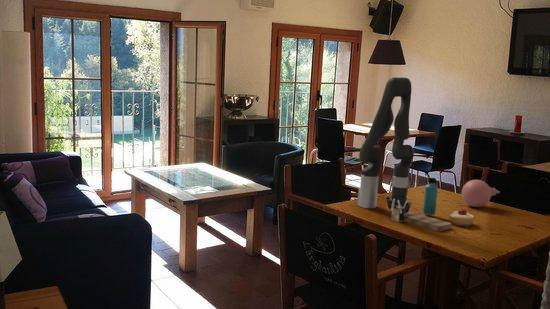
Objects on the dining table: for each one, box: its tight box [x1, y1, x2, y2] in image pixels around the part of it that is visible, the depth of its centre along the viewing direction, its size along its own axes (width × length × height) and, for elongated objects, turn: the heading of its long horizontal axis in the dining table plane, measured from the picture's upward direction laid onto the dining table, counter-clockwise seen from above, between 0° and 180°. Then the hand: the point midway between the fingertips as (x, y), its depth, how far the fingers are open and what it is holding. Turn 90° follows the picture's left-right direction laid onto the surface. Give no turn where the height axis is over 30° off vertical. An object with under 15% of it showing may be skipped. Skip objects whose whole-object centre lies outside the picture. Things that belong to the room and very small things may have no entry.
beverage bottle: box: [422, 177, 438, 216], centre depth 270 cm, size 6×7×20 cm
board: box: [402, 210, 453, 233], centre depth 258 cm, size 26×10×2 cm, turn 39°
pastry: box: [448, 206, 475, 228], centre depth 259 cm, size 12×12×9 cm
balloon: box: [461, 179, 501, 208], centre depth 294 cm, size 15×20×15 cm
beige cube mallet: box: [390, 207, 410, 223], centre depth 261 cm, size 4×10×6 cm, turn 129°
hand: (397, 219), depth 260 cm, fingers closed on beige cube mallet, 4 cm apart
